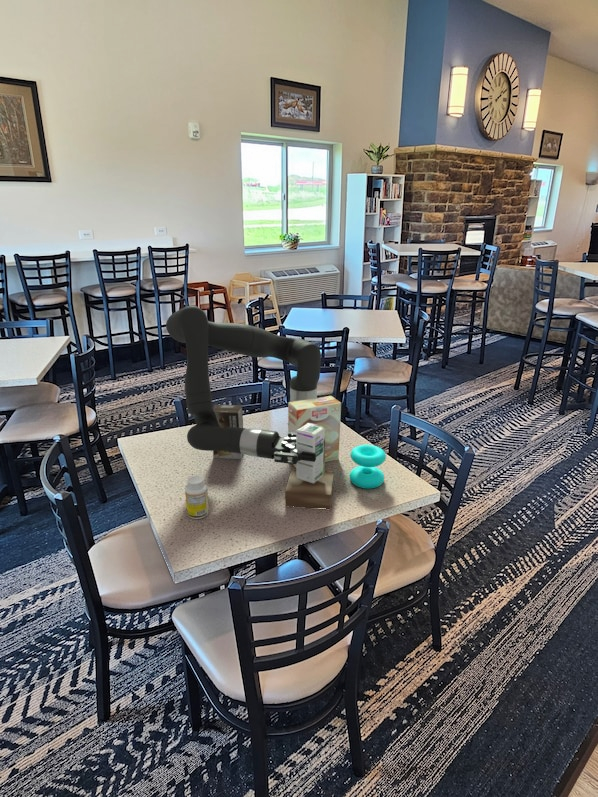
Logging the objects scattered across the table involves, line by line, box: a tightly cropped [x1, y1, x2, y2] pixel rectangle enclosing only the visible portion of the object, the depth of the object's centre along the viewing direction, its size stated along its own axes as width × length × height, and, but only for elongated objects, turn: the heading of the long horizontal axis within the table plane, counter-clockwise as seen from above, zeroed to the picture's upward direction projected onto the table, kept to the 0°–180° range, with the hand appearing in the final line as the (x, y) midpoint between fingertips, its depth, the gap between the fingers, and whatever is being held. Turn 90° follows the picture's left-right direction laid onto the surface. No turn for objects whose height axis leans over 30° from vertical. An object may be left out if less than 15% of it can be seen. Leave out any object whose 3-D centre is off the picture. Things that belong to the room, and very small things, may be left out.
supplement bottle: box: [184, 475, 210, 520], centre depth 127 cm, size 6×6×10 cm
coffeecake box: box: [287, 395, 342, 468], centre depth 153 cm, size 15×7×20 cm, turn 114°
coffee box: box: [212, 404, 244, 460], centre depth 156 cm, size 9×6×16 cm
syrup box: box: [295, 423, 326, 484], centre depth 132 cm, size 6×6×14 cm
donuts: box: [349, 444, 387, 490], centre depth 142 cm, size 10×10×10 cm
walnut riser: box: [284, 468, 335, 510], centre depth 136 cm, size 12×12×5 cm
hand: (318, 451), depth 131 cm, fingers closed on syrup box, 7 cm apart
